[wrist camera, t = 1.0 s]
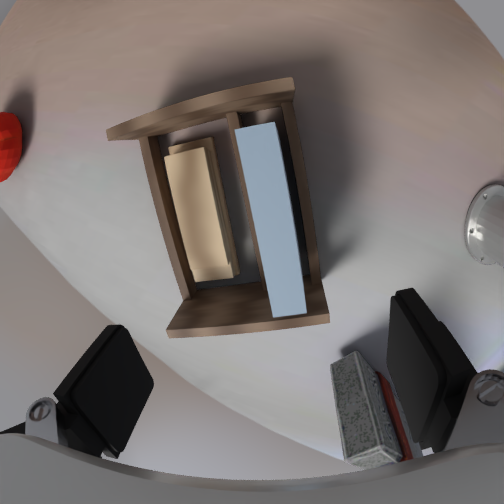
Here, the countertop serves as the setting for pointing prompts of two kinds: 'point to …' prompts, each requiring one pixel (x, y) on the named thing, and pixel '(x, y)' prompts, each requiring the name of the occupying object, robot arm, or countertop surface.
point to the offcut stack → (202, 210)
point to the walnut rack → (250, 294)
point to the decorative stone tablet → (369, 416)
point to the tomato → (9, 144)
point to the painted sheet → (272, 217)
